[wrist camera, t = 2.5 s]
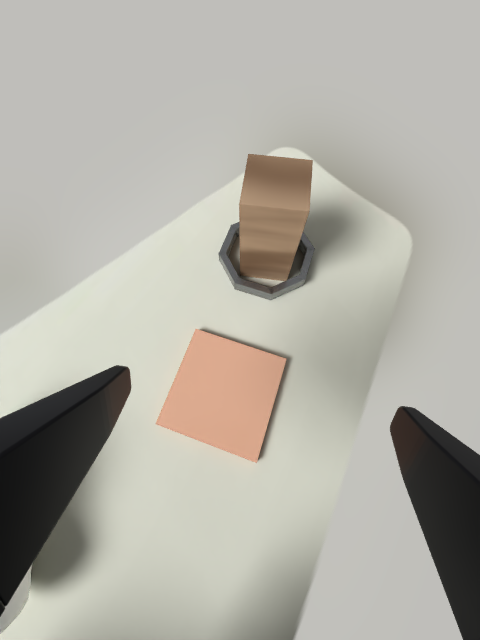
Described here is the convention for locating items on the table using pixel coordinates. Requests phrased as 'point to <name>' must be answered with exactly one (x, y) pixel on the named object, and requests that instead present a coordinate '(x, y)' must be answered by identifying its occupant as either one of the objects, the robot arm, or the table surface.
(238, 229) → the metal ring
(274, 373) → the terracotta mat
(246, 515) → the table surface
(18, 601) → the white lumpy piece
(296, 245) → the walnut block
